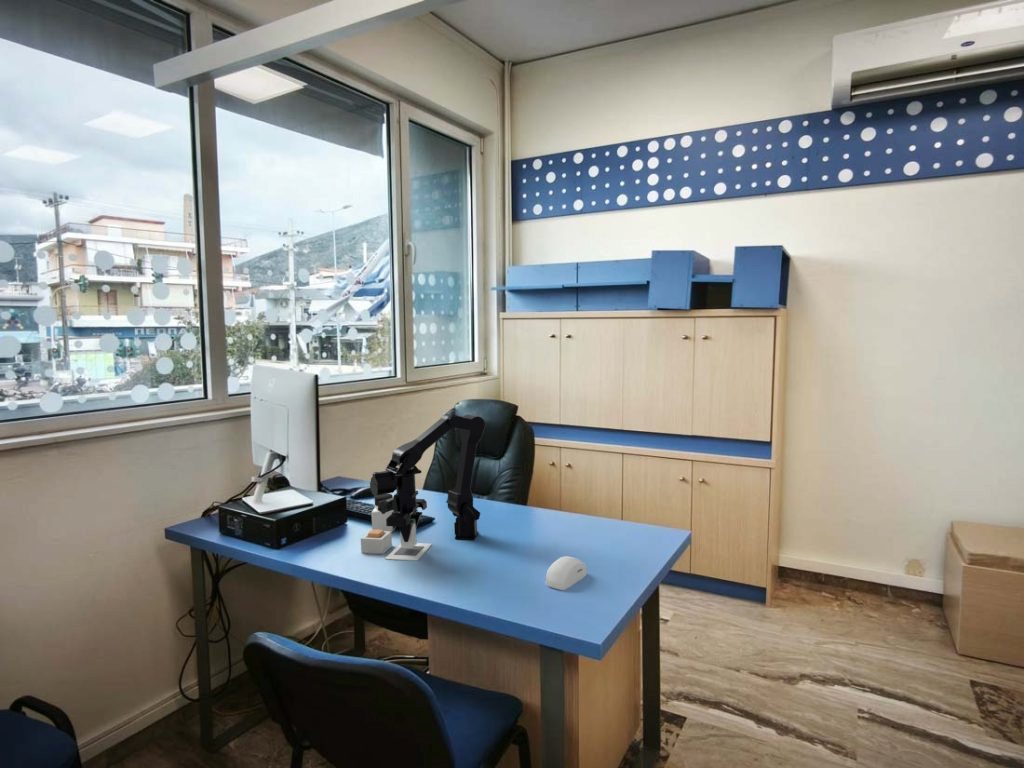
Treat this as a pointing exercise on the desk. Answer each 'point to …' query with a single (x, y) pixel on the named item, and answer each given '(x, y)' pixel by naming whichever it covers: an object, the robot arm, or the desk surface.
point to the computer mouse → (565, 573)
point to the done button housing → (376, 543)
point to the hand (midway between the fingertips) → (408, 539)
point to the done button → (375, 533)
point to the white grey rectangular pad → (408, 552)
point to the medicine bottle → (380, 518)
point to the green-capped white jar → (412, 538)
